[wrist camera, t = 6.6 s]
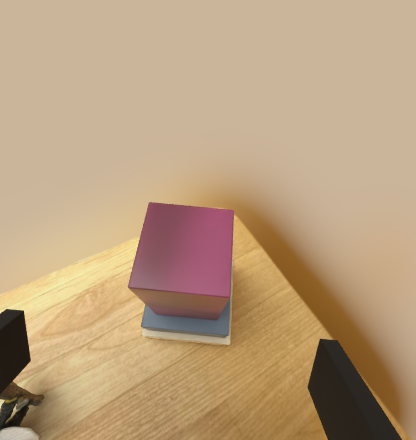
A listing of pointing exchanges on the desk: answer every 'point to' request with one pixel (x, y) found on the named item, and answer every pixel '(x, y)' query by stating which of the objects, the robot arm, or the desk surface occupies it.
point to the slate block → (188, 323)
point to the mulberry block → (184, 261)
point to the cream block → (193, 338)
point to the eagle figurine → (17, 413)
